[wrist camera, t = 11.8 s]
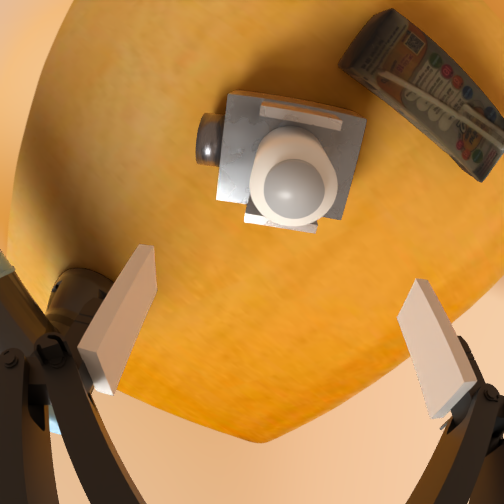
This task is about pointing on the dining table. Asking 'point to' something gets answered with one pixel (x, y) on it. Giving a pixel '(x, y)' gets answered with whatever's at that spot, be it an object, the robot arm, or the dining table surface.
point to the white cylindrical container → (292, 177)
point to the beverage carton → (427, 90)
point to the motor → (258, 126)
